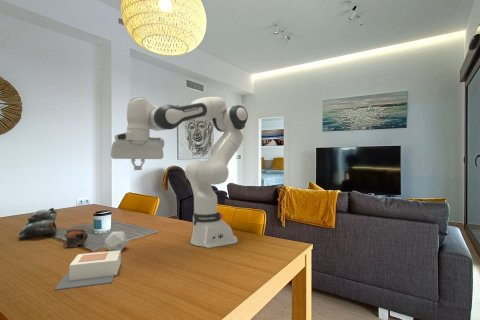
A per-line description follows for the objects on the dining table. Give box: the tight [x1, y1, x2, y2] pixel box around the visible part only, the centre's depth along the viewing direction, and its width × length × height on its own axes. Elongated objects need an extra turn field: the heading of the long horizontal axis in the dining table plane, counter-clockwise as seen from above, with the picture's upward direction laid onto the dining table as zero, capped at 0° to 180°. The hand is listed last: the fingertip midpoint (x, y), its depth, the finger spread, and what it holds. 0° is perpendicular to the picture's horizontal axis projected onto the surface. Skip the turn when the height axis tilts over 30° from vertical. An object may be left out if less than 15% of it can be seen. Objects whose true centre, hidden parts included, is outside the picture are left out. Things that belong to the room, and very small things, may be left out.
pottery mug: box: [63, 228, 88, 249], centre depth 119 cm, size 12×10×8 cm
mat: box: [54, 270, 115, 291], centre depth 90 cm, size 16×20×1 cm
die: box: [104, 231, 129, 252], centre depth 113 cm, size 8×9×10 cm
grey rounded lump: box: [17, 207, 58, 240], centre depth 133 cm, size 17×14×16 cm
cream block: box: [68, 250, 122, 281], centre depth 91 cm, size 5×10×14 cm
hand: (138, 170), depth 108 cm, fingers closed
